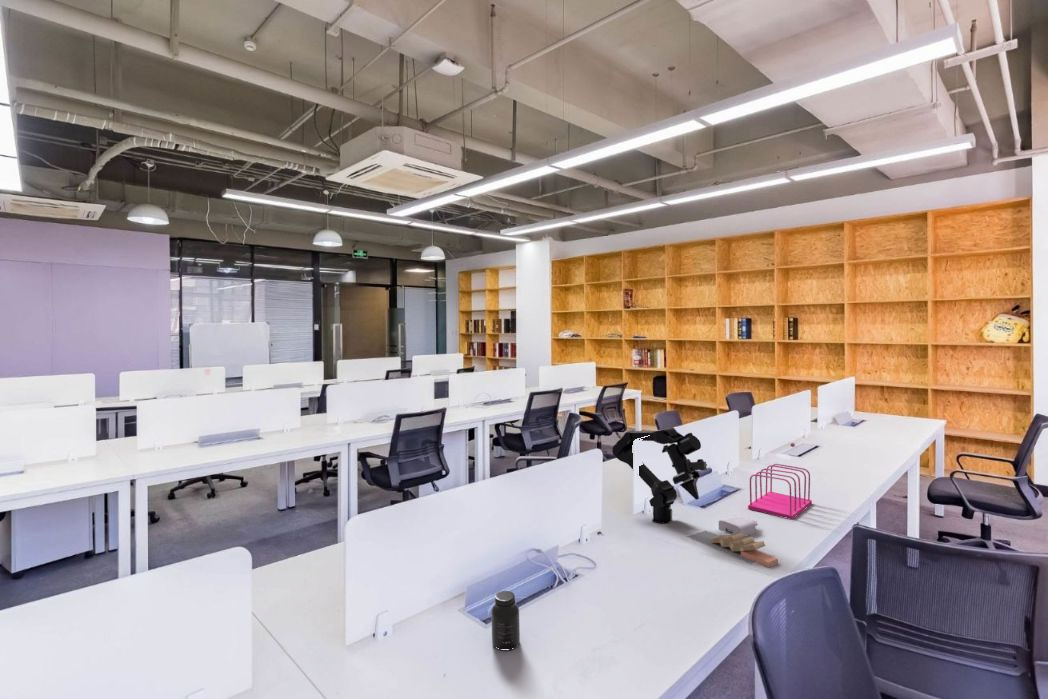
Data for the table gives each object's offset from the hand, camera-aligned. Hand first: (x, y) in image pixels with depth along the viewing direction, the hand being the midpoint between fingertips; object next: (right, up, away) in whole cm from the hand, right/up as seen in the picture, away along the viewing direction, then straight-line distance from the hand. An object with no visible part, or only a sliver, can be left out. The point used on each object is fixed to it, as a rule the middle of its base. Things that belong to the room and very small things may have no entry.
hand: (697, 499), depth 192 cm
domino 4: (+10, -12, -19) cm, 24 cm away
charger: (+17, -13, +2) cm, 22 cm away
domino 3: (+8, -12, -15) cm, 21 cm away
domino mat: (+6, -13, -12) cm, 19 cm away
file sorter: (+44, -11, +27) cm, 53 cm away
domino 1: (+4, -12, -9) cm, 15 cm away
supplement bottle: (-69, -17, -65) cm, 96 cm away
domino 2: (+6, -12, -12) cm, 18 cm away
